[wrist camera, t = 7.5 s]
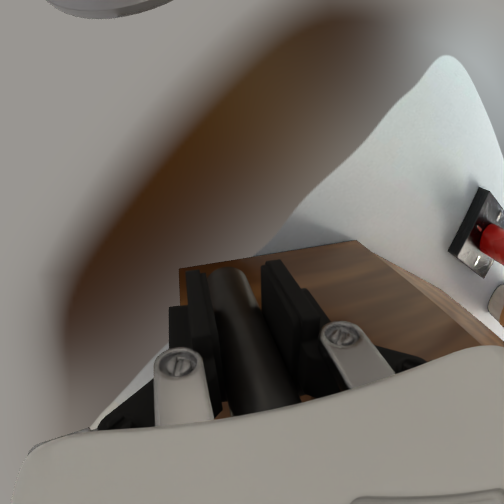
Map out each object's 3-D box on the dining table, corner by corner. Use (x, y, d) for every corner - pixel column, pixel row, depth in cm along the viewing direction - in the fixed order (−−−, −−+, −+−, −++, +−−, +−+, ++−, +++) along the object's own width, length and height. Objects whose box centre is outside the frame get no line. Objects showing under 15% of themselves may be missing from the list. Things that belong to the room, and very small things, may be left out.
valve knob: (475, 246, 35) (505, 264, 29) (489, 218, 33) (520, 233, 28) (486, 257, 36) (514, 274, 31) (499, 230, 35) (528, 246, 30)
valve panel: (447, 250, 36) (458, 257, 34) (479, 187, 33) (490, 191, 31) (475, 273, 40) (484, 279, 38) (503, 217, 37) (513, 222, 35)
